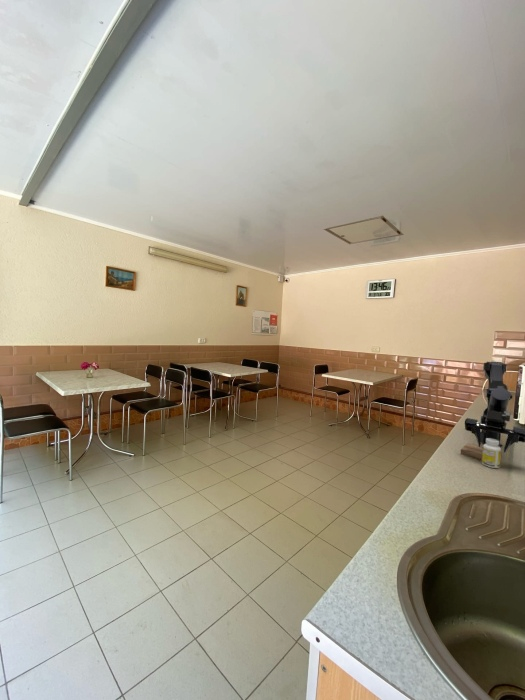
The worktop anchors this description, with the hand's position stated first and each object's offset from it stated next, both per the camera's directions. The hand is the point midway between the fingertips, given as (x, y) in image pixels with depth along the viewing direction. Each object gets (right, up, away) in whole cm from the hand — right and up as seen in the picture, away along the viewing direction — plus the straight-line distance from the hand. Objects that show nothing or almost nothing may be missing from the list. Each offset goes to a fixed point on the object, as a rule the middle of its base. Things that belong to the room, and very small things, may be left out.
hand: (491, 449), depth 110 cm
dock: (+2, -6, +12) cm, 13 cm away
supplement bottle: (+1, -7, +2) cm, 7 cm away
